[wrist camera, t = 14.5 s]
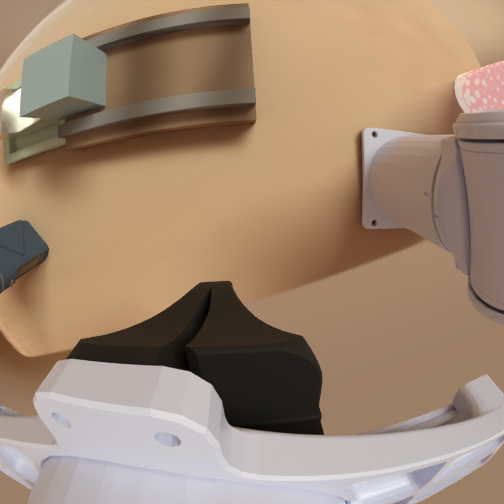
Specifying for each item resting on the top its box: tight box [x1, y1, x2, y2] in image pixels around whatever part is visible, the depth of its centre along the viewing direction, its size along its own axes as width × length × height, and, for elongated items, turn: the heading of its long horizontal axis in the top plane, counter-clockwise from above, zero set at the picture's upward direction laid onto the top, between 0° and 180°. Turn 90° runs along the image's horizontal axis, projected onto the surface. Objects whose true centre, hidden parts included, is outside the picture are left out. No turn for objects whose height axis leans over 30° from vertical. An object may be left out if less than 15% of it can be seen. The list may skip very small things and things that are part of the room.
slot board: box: [58, 3, 256, 150], centre depth 16 cm, size 14×10×3 cm, turn 93°
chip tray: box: [4, 79, 66, 165], centre depth 17 cm, size 9×8×1 cm
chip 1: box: [0, 89, 35, 141], centre depth 15 cm, size 4×4×2 cm
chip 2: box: [18, 88, 60, 132], centre depth 15 cm, size 4×4×2 cm
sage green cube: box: [20, 34, 107, 120], centre depth 13 cm, size 4×4×5 cm
